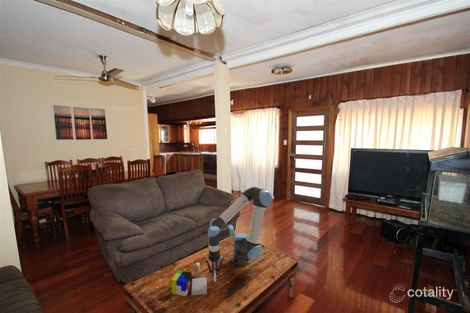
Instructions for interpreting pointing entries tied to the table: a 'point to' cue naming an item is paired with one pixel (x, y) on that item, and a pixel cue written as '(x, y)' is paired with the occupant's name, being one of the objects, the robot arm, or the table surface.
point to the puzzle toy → (181, 283)
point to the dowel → (197, 270)
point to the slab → (199, 286)
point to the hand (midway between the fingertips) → (215, 280)
